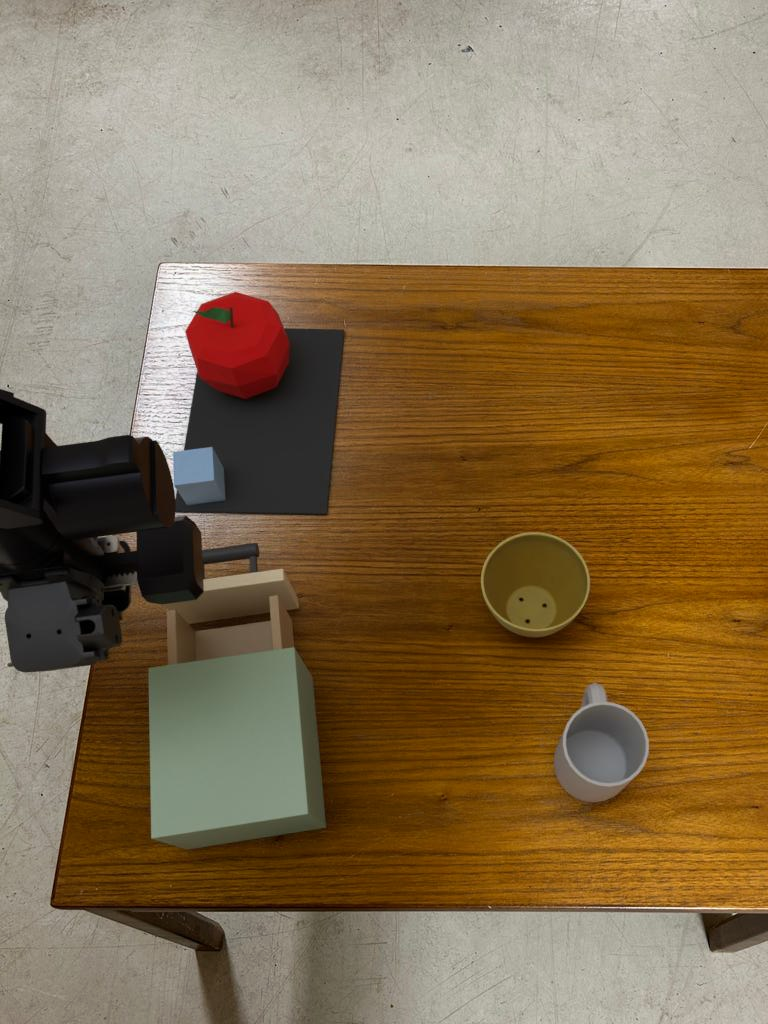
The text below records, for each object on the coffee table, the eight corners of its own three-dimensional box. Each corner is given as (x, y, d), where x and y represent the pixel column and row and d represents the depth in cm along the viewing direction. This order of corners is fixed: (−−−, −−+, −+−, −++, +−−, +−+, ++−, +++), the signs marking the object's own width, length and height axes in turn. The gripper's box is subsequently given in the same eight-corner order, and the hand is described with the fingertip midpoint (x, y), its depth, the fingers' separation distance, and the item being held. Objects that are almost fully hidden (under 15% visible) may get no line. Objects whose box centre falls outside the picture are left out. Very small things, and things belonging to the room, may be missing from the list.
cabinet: (181, 695, 77) (148, 667, 69) (312, 676, 78) (294, 646, 70) (186, 849, 72) (150, 838, 64) (326, 827, 73) (308, 814, 65)
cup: (555, 805, 74) (565, 788, 66) (548, 700, 78) (557, 671, 69) (633, 802, 74) (653, 784, 66) (622, 698, 78) (640, 669, 69)
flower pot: (469, 576, 82) (469, 544, 75) (564, 555, 83) (572, 521, 76) (494, 667, 79) (496, 642, 72) (592, 643, 80) (604, 616, 73)
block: (187, 505, 84) (173, 485, 80) (185, 473, 86) (172, 451, 82) (225, 500, 84) (214, 480, 81) (223, 468, 86) (212, 446, 82)
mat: (174, 512, 84) (173, 510, 84) (205, 328, 93) (204, 326, 92) (327, 515, 84) (326, 513, 84) (344, 331, 93) (343, 329, 92)
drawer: (181, 574, 81) (156, 543, 74) (294, 559, 82) (279, 527, 75) (186, 746, 75) (160, 728, 68) (309, 728, 75) (294, 708, 69)
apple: (298, 332, 92) (278, 263, 83) (297, 409, 88) (276, 347, 79) (205, 336, 92) (174, 267, 82) (199, 414, 88) (167, 351, 79)
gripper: (-142, 661, 49) (-1, 724, 64) (165, 618, 51) (234, 690, 65) (-123, 504, 53) (5, 597, 68) (162, 467, 54) (228, 567, 69)
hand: (117, 615), depth 67 cm, fingers closed
